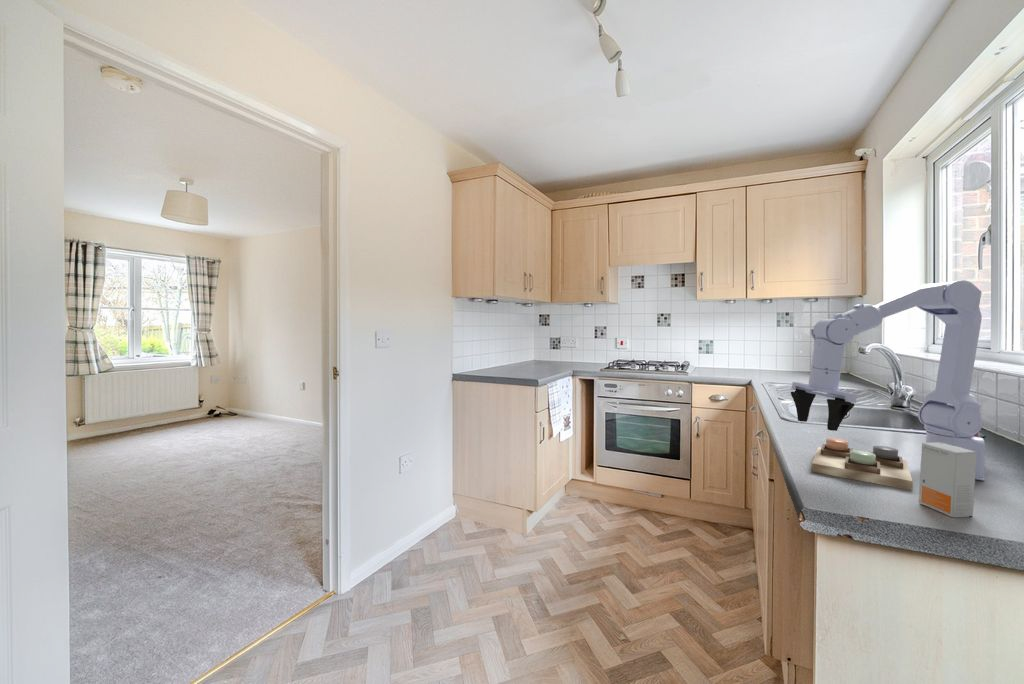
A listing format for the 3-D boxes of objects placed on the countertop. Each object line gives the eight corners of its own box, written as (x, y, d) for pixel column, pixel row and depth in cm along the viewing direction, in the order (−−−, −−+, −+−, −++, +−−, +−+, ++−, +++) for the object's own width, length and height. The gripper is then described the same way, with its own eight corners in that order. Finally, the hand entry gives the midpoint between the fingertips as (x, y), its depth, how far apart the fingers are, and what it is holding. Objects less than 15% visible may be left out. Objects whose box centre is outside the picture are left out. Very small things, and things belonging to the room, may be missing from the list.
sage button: (875, 460, 95) (875, 452, 95) (875, 465, 92) (875, 457, 92) (850, 456, 98) (850, 449, 98) (849, 461, 95) (850, 453, 94)
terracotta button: (848, 447, 105) (848, 440, 105) (847, 451, 102) (848, 444, 102) (826, 444, 108) (826, 437, 108) (825, 448, 105) (825, 440, 105)
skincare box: (917, 503, 81) (920, 442, 80) (937, 502, 81) (940, 441, 81) (953, 518, 75) (956, 452, 74) (974, 517, 75) (978, 451, 75)
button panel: (906, 468, 100) (907, 455, 100) (911, 490, 87) (912, 475, 87) (818, 454, 111) (818, 442, 110) (811, 471, 98) (812, 458, 98)
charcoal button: (897, 455, 99) (897, 448, 98) (898, 460, 95) (898, 452, 95) (872, 451, 101) (872, 444, 101) (872, 456, 98) (873, 448, 98)
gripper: (785, 363, 105) (777, 416, 106) (843, 372, 91) (833, 433, 92) (807, 366, 107) (799, 418, 108) (867, 375, 93) (857, 435, 94)
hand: (816, 425), depth 100 cm, fingers open, 7 cm apart
